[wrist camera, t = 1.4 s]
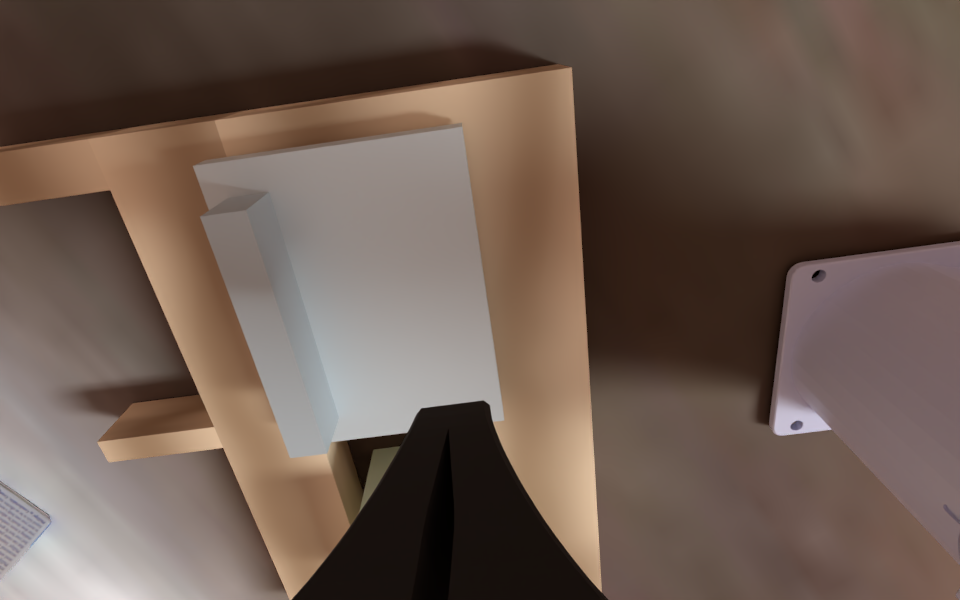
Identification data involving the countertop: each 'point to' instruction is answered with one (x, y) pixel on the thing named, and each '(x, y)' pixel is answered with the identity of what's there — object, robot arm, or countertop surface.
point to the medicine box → (17, 527)
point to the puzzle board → (221, 342)
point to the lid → (355, 281)
